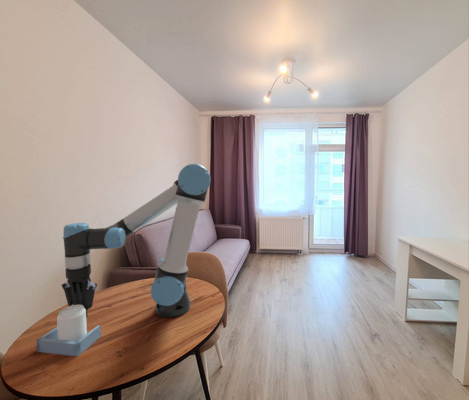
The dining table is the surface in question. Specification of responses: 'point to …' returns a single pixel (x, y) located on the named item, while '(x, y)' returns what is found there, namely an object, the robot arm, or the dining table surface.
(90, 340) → the corral
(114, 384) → the dining table surface
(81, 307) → the beverage can
